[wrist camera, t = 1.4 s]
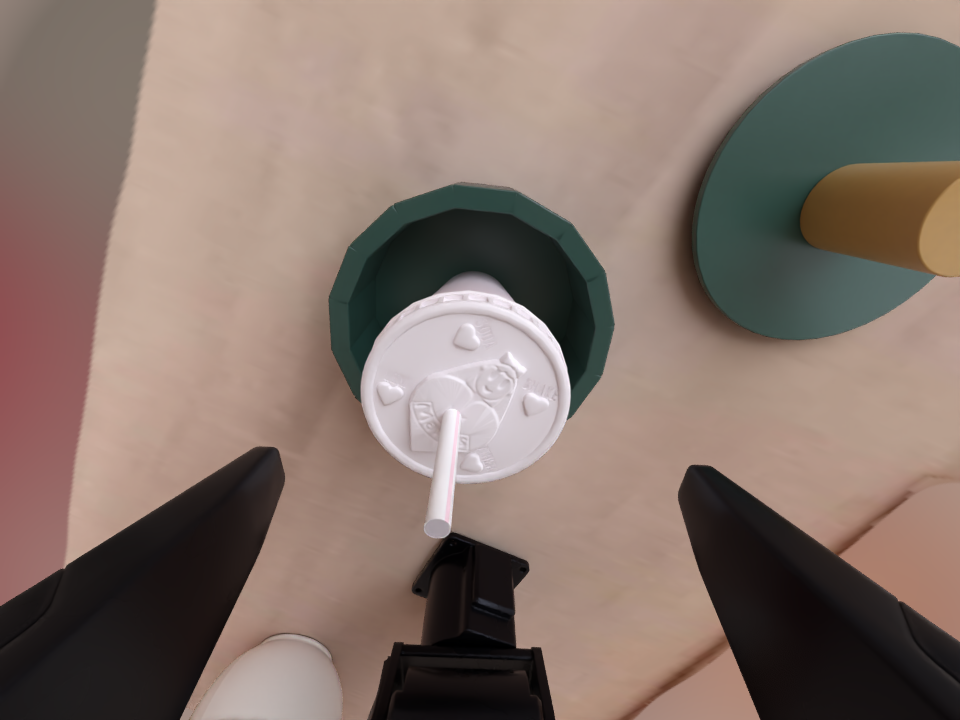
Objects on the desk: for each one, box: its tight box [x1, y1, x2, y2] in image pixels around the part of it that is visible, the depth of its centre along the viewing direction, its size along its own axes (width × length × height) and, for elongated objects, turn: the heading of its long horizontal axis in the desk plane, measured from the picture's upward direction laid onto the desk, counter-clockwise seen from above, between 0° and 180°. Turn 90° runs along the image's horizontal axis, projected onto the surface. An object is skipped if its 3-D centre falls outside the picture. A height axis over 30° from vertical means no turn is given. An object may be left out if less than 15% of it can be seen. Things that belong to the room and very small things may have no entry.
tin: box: [329, 182, 615, 420], centre depth 19 cm, size 12×12×5 cm
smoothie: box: [361, 271, 571, 538], centre depth 15 cm, size 6×6×14 cm
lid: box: [692, 32, 960, 340], centre depth 16 cm, size 13×13×7 cm
